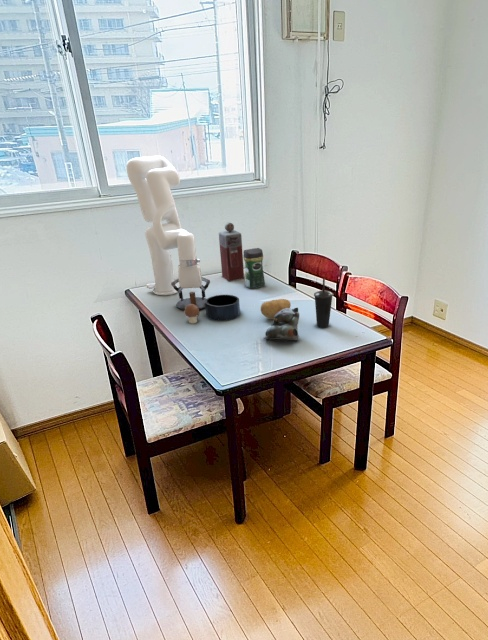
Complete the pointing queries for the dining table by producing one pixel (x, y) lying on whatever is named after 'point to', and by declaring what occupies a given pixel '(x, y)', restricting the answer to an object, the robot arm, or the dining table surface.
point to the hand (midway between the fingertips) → (192, 299)
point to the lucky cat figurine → (284, 325)
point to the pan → (222, 307)
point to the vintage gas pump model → (231, 253)
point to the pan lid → (191, 302)
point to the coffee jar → (254, 268)
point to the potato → (274, 307)
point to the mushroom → (192, 312)
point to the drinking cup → (323, 306)
